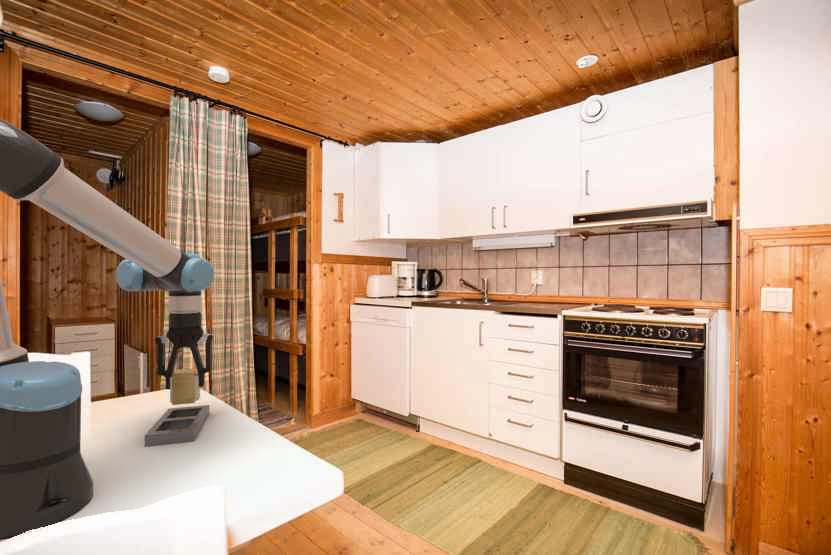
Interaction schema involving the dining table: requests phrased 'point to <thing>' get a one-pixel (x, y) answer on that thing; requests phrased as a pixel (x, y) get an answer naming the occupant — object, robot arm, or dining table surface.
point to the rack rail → (177, 425)
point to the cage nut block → (183, 386)
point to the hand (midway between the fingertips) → (185, 400)
